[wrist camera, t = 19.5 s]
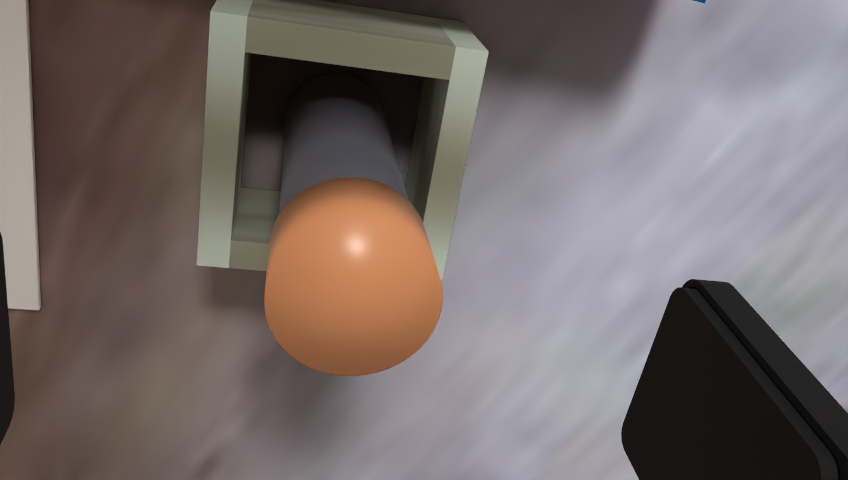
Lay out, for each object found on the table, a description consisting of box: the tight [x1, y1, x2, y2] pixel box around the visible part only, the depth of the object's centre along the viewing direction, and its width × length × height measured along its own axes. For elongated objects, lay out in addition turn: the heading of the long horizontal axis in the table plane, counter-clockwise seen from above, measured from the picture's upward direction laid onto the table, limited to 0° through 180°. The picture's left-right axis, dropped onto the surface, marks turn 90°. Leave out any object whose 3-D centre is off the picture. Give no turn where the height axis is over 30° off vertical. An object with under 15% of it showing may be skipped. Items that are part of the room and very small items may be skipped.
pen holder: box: [197, 0, 489, 282], centre depth 21 cm, size 6×6×4 cm
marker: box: [264, 75, 443, 376], centre depth 18 cm, size 3×3×10 cm
